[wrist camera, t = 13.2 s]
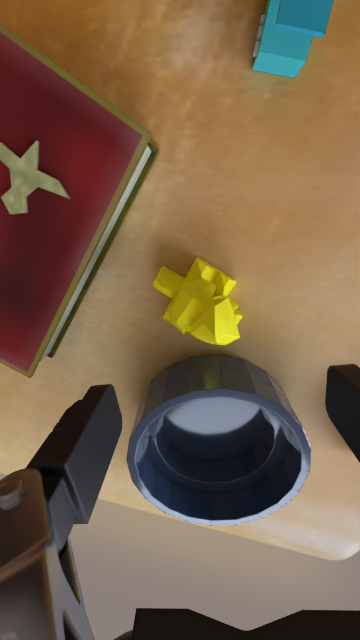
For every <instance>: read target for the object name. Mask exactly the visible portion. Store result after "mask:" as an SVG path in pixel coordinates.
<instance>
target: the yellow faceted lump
mask: <svg viewBox="0 0 360 640" xmlns="http://www.w3.org/2000/svg"><path fill="white" fill-rule="evenodd" d="M236 283H237V282H236V281H235V280H234V278H232V277H230V276H229V275H227V274H225V273H224V272H222V271H220V270H219V269H217V268H215V267H214V266H212V265H210V264H209V263H207V262H205V261H204V260H202V259H200V258H199V257H197V258H196V259H195V261H194V263H193V264H192V266H191V268H190V270H189V271H188V273H187V275H186V276H185V278H184V277H182V276H180V275H179V274H177V273H175V272H174V271H172V270H170V269H169V268H167V267H165V266H163V267H162V268H161V269H160V271H159V273H158V275H157V277H156V278H155V280H154V282H153V284H152V285H153V286H154V287H155V288H156V289H157V290H159V291H160V292H161V293H163V294H165V295H167V296H169V297H170V298H172V300H171V302H170V303H169V305H168V307H167V309H166V310H165V312H164V315H163V319H165V320H167V321H168V322H170V323H171V324H173V325H174V326H175V327H176V328H177V329H178V330H179V331H181V332H182V333H183V334H184V333H185V332H188V333H190V334H191V335H193V336H194V337H195V338H196V339H197V340H198V341H200V340H203V341H205V342H207V343H210V344H218V345H227V344H229V343H231V342H233V341H234V340H236V339H238V338H240V335H239V331H238V327H237V324H238V323H239V321H240V320H241V319H242V317H243V315H242V313H241V311H240V310H238V309H237V308H238V307H239V305H238V304H237V303H236V302H235V301H234V300H233V299H232V298H230V297H227V296H228V295H229V293H230V292H231V290H232V289H233V287H234V286H235V284H236Z"/></svg>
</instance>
